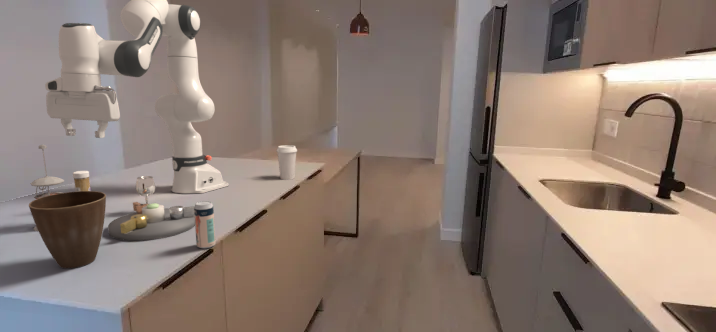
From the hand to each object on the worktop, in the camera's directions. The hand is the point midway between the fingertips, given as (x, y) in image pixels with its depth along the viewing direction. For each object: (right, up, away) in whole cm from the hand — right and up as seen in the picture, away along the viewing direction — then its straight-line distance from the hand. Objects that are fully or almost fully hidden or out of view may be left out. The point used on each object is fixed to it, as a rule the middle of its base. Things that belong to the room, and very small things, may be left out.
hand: (85, 136), depth 112 cm
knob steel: (+21, -24, +16) cm, 35 cm away
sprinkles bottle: (-19, -23, +28) cm, 41 cm away
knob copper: (+6, -23, +18) cm, 30 cm away
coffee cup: (+42, -14, +79) cm, 91 cm away
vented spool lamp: (-19, -26, +13) cm, 35 cm away
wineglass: (+3, -24, +27) cm, 36 cm away
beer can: (+34, -30, -2) cm, 45 cm away
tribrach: (+12, -27, +13) cm, 32 cm away
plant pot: (+6, -32, -12) cm, 35 cm away
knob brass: (+11, -26, +4) cm, 28 cm away
